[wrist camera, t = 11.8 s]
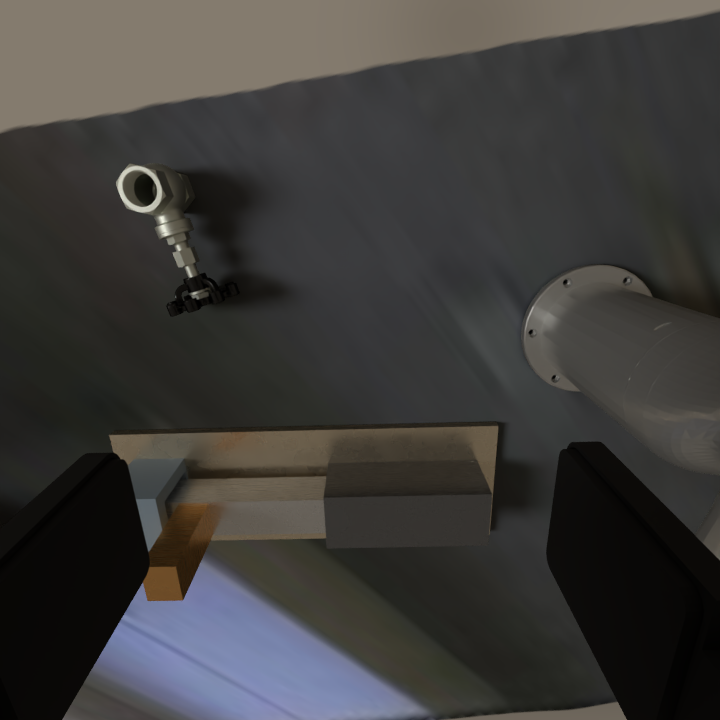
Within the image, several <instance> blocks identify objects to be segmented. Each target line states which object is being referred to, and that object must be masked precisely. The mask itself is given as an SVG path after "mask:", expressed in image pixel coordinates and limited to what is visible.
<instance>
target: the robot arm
mask: <svg viewBox="0 0 720 720" xmlns="http://www.w3.org/2000/svg"><path fill="white" fill-rule="evenodd" d="M624 278H625V280H624ZM565 279H566V282H565V283H564V284H563V281H564V280H565ZM623 280H624V281H623ZM531 329H532V331H531V333H528V332H529V331H530V330H531ZM521 343H522V349H523V352H524V356H525V358H526V360H527V362H528V364H529V366H530V367H531V368H532V369H533V370H534V372H535V373H536V374H537V375H538V376H539V377H541V378H542V379H543V380H544V381H545V382H547V383H548V384H550V385H552V386H554V387H557V388H560V389H563V390H568V391H574V392H582V393H584V394H585V395H586V396H587V397H588V398H589V399H591V400H592V401H593V402H594V403H595V404H596V405H598V406H599V407H600V408H601V409H602V410H603V411H605V412H606V413H607V414H608V415H609V416H610V417H612V418H613V419H614V420H615V421H616V422H617V423H619V424H620V425H621V426H622V427H623V428H624V429H626V430H627V431H628V432H629V433H630V434H631V435H633V436H634V437H635V438H636V439H637V440H638V441H640V442H641V443H642V444H643V445H645V446H646V447H647V448H648V449H649V450H651V451H652V452H653V453H654V454H656V455H657V456H659V457H660V458H662V459H663V460H665V461H667V462H669V463H671V464H673V465H675V466H678V467H681V468H684V469H687V470H690V471H694V472H698V473H704V474H713V475H720V318H717V317H713V316H710V315H707V314H704V313H701V312H698V311H695V310H691V309H688V308H685V307H682V306H679V305H676V304H673V303H669V302H666V301H663V300H660V299H657V298H654V297H653V296H652V294H651V292H650V290H649V289H648V287H647V286H646V285H645V283H644V282H643V281H642V280H640V279H639V278H638V277H637V276H636V275H634V274H632V273H630V272H629V271H627V270H625V269H622V268H618V267H615V266H610V265H604V264H591V265H584V266H580V267H575V268H573V269H571V270H568V271H566V272H563V273H562V274H560V275H558V276H557V277H555V278H554V279H552V280H551V281H550V282H548V283H547V284H546V285H545V286H544V287H543V288H542V289H541V290H540V291H539V292H538V294H537V295H536V296H535V297H534V299H533V300H532V302H531V304H530V305H529V307H528V309H527V311H526V314H525V317H524V320H523V323H522V331H521ZM553 375H554V377H552V376H553ZM546 554H547V561H548V565H549V568H550V570H551V572H552V574H553V576H554V578H555V580H556V582H557V584H558V586H559V588H560V590H561V592H562V594H563V596H564V598H565V599H566V601H567V603H568V605H569V607H570V609H571V611H572V613H573V615H574V617H575V619H576V621H577V623H578V625H579V627H580V629H581V631H582V633H583V635H584V637H585V639H586V641H587V643H588V644H589V646H590V648H591V650H592V652H593V654H594V656H595V658H596V660H597V662H598V664H599V666H600V668H601V670H602V672H603V674H604V676H605V678H606V680H607V682H608V684H609V686H610V687H611V689H612V691H613V693H614V695H615V697H616V699H617V701H618V703H619V705H620V707H621V709H622V711H623V713H624V715H625V716H626V719H627V720H720V491H719V493H718V494H717V496H716V498H715V500H714V504H713V505H712V507H711V509H710V510H709V512H708V514H707V515H706V517H705V519H704V520H703V522H702V524H701V525H700V527H699V528H698V530H697V532H696V533H695V535H694V534H693V533H692V532H691V531H690V530H689V529H688V528H687V527H686V526H685V525H684V524H683V523H682V522H681V521H680V520H679V519H678V518H677V517H676V516H675V515H674V514H673V513H672V512H671V511H670V510H669V509H668V508H667V507H666V506H665V505H664V504H663V503H662V502H661V501H660V500H659V499H658V498H657V497H656V496H655V495H654V494H653V493H652V492H651V491H650V490H649V489H648V488H647V487H646V486H645V485H644V484H643V483H642V482H641V481H640V480H639V479H638V478H637V477H636V476H635V475H634V474H633V473H632V472H631V471H630V470H629V469H628V468H627V467H626V466H625V465H624V464H623V463H622V462H621V461H620V460H619V459H618V458H617V457H616V456H615V455H614V454H613V453H612V452H611V451H610V450H609V449H608V448H607V447H606V446H605V445H604V444H603V443H601V442H572V443H570V444H569V446H568V448H567V449H563V450H561V452H560V455H559V460H558V468H557V475H556V483H555V490H554V497H553V505H552V512H551V520H550V527H549V534H548V542H547V550H546ZM149 565H150V557H149V553H148V548H147V544H146V540H145V536H144V531H143V527H142V523H141V519H140V514H139V510H138V506H137V502H136V498H135V493H134V489H133V485H132V481H131V476H130V472H129V468H128V465H127V462H126V461H125V460H123V459H120V457H119V456H118V455H117V454H116V453H87V454H85V455H83V456H82V457H80V458H79V459H78V460H77V461H76V462H75V463H74V464H73V465H71V466H70V467H69V468H68V469H67V470H66V471H65V472H64V473H62V474H61V475H60V476H59V477H58V478H57V479H56V480H55V481H53V482H52V483H51V484H50V485H49V486H48V487H47V488H46V489H44V490H43V491H42V492H41V493H40V494H39V495H38V496H37V497H35V498H34V499H33V500H32V501H31V502H30V503H29V504H28V505H26V506H25V507H24V508H23V509H22V510H21V511H20V512H19V513H17V514H16V515H15V516H14V517H13V518H12V519H11V520H10V521H8V522H7V523H6V524H5V525H4V526H3V527H2V528H1V529H0V720H62V719H63V717H64V715H65V714H66V712H67V710H68V709H69V707H70V705H71V704H72V702H73V700H74V698H75V697H76V695H77V693H78V692H79V690H80V688H81V686H82V685H83V683H84V681H85V680H86V678H87V676H88V675H89V673H90V671H91V669H92V668H93V666H94V664H95V663H96V661H97V659H98V658H99V656H100V654H101V652H102V651H103V649H104V647H105V646H106V644H107V642H108V640H109V639H110V637H111V635H112V634H113V632H114V630H115V629H116V627H117V625H118V623H119V622H120V620H121V618H122V617H123V615H124V613H125V612H126V610H127V608H128V606H129V605H130V603H131V601H132V600H133V598H134V596H135V594H136V593H137V591H138V589H139V588H140V586H141V584H142V583H143V581H144V579H145V577H146V575H147V573H148V570H149Z"/></svg>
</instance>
